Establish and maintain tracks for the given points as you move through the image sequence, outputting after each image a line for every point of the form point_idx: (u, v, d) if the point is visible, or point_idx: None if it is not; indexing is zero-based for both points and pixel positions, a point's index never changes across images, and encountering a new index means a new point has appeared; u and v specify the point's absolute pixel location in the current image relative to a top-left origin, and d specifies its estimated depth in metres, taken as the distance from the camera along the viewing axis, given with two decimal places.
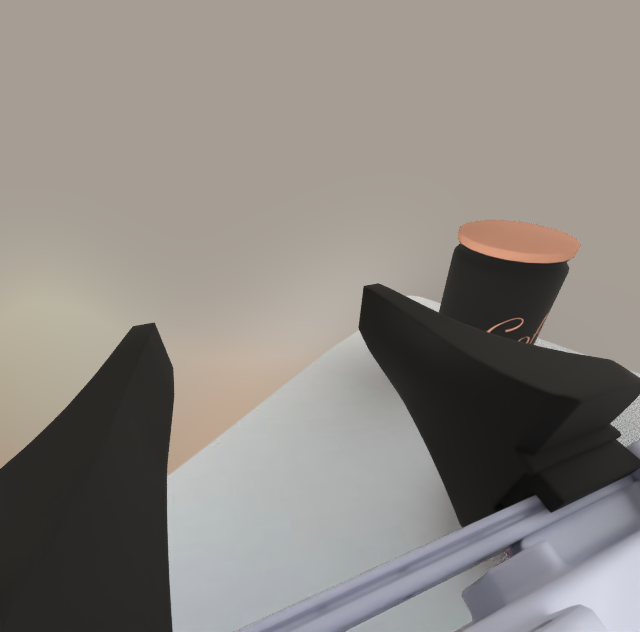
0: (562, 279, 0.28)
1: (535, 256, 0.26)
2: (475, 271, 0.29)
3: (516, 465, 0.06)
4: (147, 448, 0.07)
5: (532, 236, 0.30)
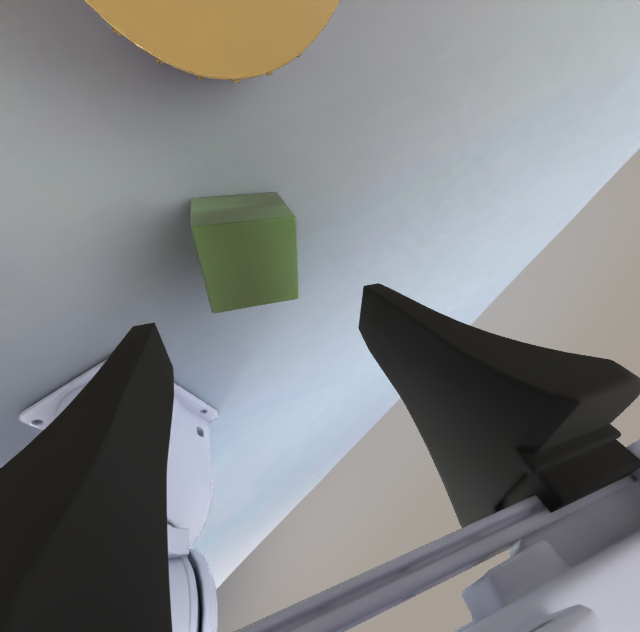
0: None
1: None
2: None
3: (516, 465, 0.06)
4: (147, 448, 0.07)
5: None
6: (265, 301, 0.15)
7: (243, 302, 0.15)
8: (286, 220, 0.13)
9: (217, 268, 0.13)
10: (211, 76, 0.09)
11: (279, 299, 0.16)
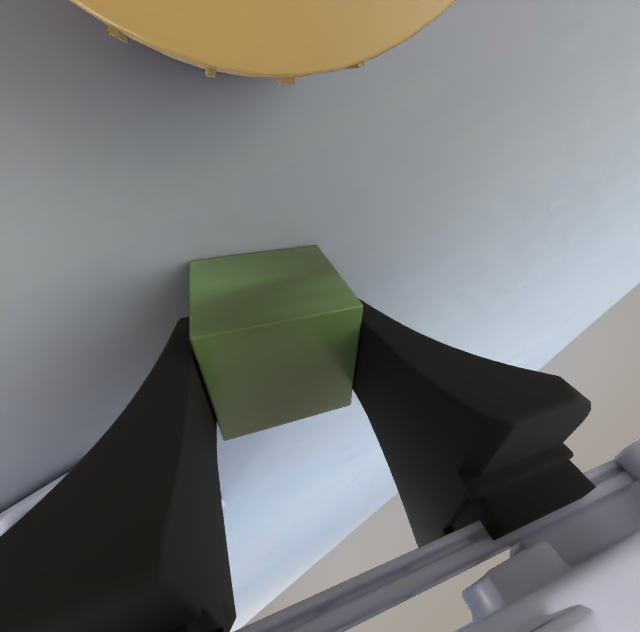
0: None
1: None
2: None
3: (460, 488, 0.06)
4: (205, 432, 0.07)
5: None
6: (303, 415, 0.10)
7: (271, 422, 0.10)
8: (349, 311, 0.08)
9: (232, 388, 0.08)
10: (239, 69, 0.04)
11: (323, 410, 0.10)
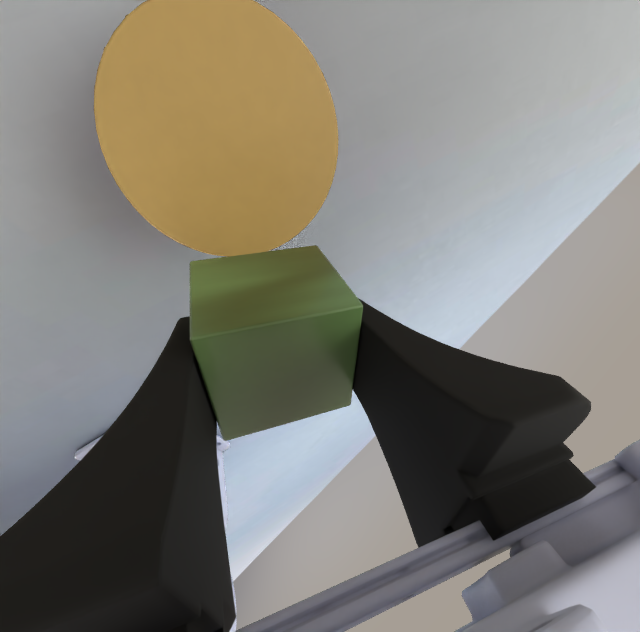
0: None
1: None
2: None
3: (460, 488, 0.06)
4: (205, 432, 0.07)
5: None
6: (303, 416, 0.10)
7: (271, 422, 0.10)
8: (349, 311, 0.08)
9: (232, 388, 0.08)
10: None
11: (323, 410, 0.10)
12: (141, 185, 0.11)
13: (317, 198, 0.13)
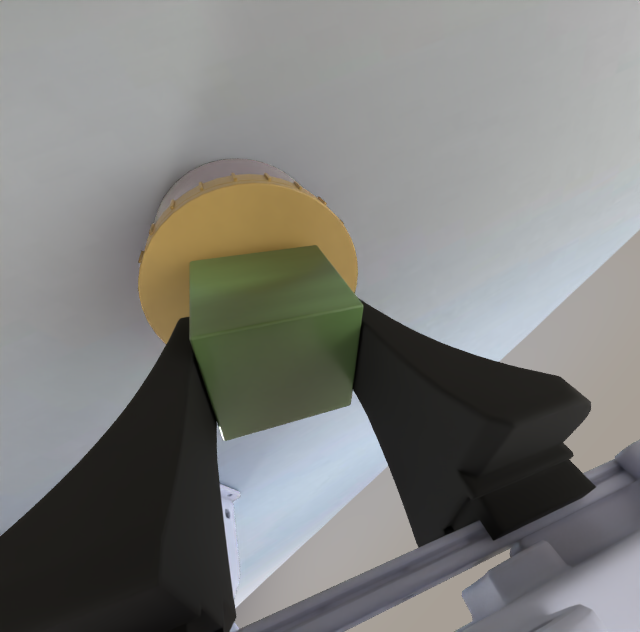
0: None
1: None
2: None
3: (459, 488, 0.06)
4: (205, 432, 0.07)
5: None
6: (303, 415, 0.10)
7: (271, 422, 0.10)
8: (349, 311, 0.08)
9: (232, 388, 0.08)
10: None
11: (324, 410, 0.10)
12: None
13: None
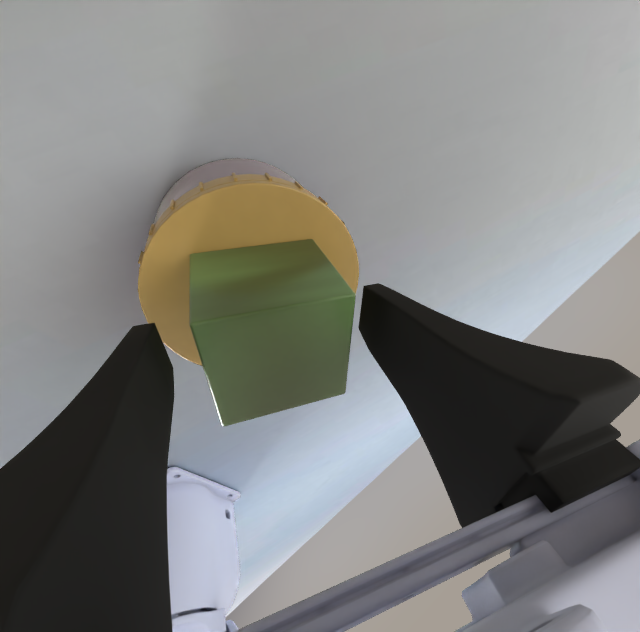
0: None
1: None
2: None
3: (516, 465, 0.06)
4: (147, 448, 0.07)
5: None
6: (299, 403, 0.10)
7: (268, 408, 0.10)
8: (342, 300, 0.08)
9: (230, 373, 0.09)
10: None
11: (319, 398, 0.11)
12: (176, 331, 0.12)
13: None
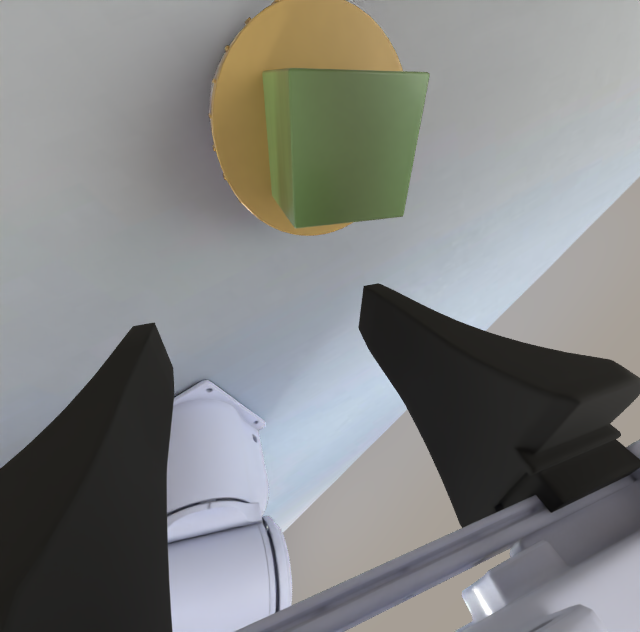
0: None
1: None
2: None
3: (516, 465, 0.06)
4: (147, 448, 0.07)
5: None
6: (363, 216, 0.11)
7: (336, 214, 0.11)
8: (418, 76, 0.09)
9: (312, 151, 0.09)
10: (308, 235, 0.15)
11: (380, 215, 0.11)
12: (240, 168, 0.12)
13: None
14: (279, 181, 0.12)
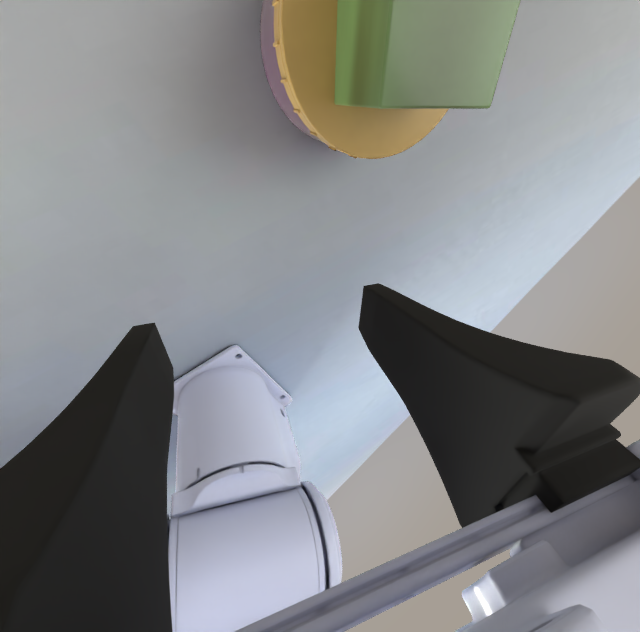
0: None
1: None
2: None
3: (516, 465, 0.06)
4: (147, 448, 0.07)
5: None
6: (451, 100, 0.10)
7: (424, 94, 0.10)
8: None
9: (412, 0, 0.08)
10: (366, 157, 0.14)
11: (468, 102, 0.10)
12: (305, 64, 0.11)
13: None
14: (354, 67, 0.10)
